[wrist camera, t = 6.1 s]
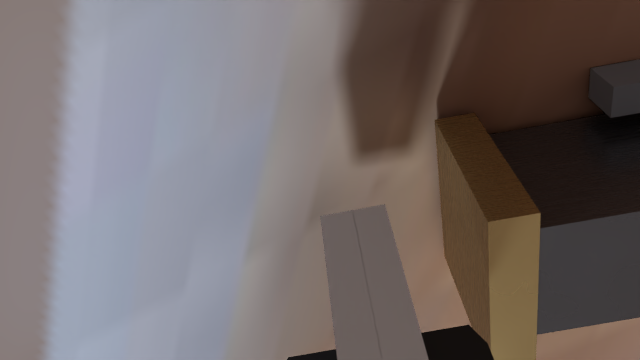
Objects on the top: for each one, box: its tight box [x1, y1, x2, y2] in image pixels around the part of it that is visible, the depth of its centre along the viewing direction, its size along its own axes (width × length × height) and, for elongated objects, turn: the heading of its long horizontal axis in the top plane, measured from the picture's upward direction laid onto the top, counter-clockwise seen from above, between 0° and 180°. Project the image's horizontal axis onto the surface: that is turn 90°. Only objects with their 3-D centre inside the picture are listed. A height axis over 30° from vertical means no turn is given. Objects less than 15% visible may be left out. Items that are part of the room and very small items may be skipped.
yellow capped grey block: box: [435, 113, 640, 360], centre depth 14 cm, size 7×4×4 cm, turn 99°
